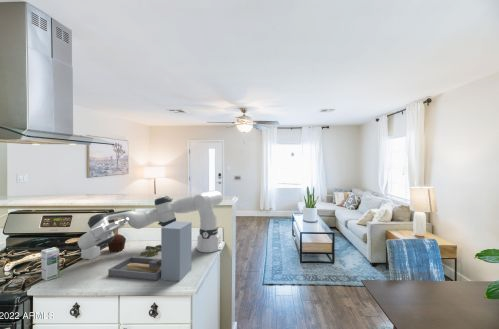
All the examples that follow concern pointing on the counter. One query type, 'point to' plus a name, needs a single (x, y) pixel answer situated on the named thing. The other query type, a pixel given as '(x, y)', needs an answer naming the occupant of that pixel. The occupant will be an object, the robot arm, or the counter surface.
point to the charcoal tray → (122, 271)
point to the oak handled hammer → (146, 266)
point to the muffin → (117, 243)
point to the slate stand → (176, 250)
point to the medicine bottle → (90, 253)
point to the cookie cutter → (150, 251)
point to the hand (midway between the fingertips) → (122, 220)
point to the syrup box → (50, 263)
